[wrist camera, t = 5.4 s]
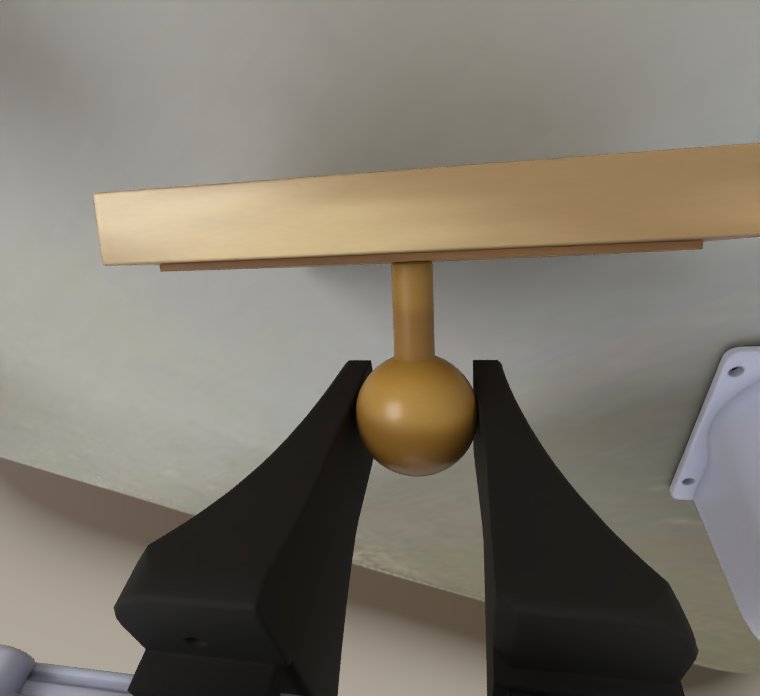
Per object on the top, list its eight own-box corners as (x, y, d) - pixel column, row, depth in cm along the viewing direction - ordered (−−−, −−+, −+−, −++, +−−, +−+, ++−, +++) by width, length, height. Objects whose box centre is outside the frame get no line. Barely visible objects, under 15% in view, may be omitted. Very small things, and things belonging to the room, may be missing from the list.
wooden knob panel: (615, 206, 16) (608, 394, 17) (271, 225, 18) (284, 391, 19) (790, 139, 7) (753, 531, 8) (91, 192, 10) (132, 499, 11)
